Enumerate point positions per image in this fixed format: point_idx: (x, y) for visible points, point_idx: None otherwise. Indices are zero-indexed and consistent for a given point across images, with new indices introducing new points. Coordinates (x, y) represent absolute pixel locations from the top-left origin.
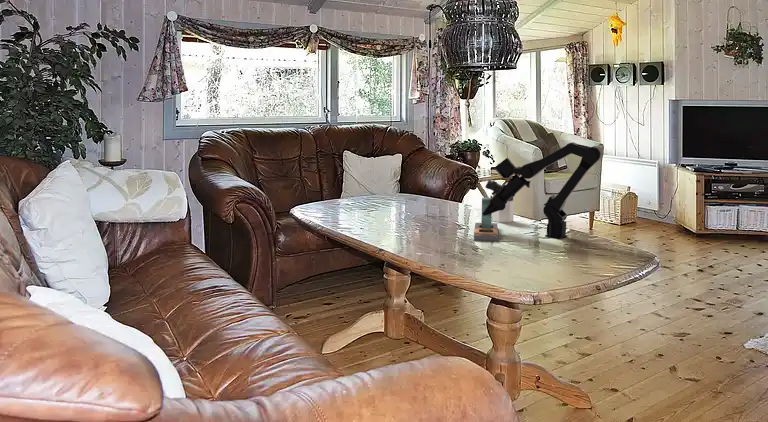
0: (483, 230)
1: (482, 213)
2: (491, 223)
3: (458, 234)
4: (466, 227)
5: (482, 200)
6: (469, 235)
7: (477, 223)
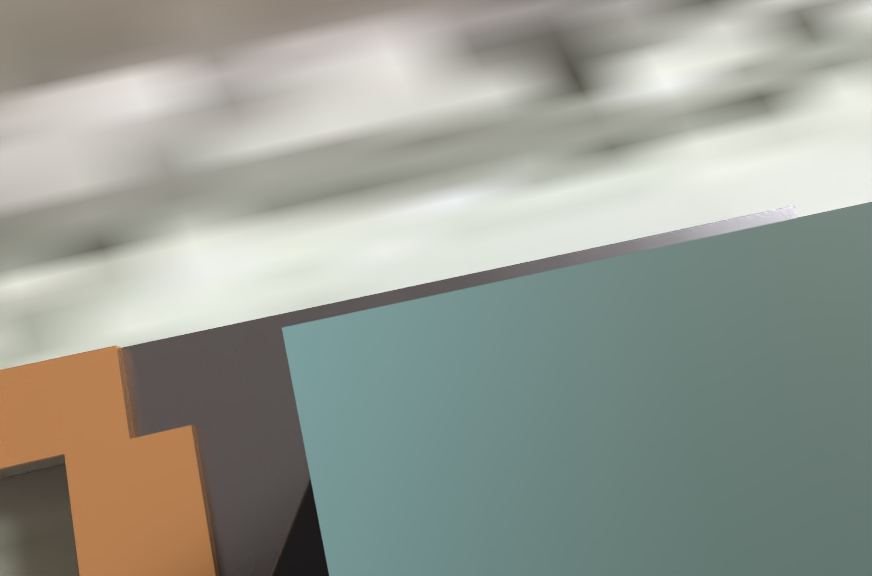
0: (89, 549)
1: None
2: None
3: (49, 113)
4: (673, 102)
5: (312, 401)
6: (19, 303)
7: None
